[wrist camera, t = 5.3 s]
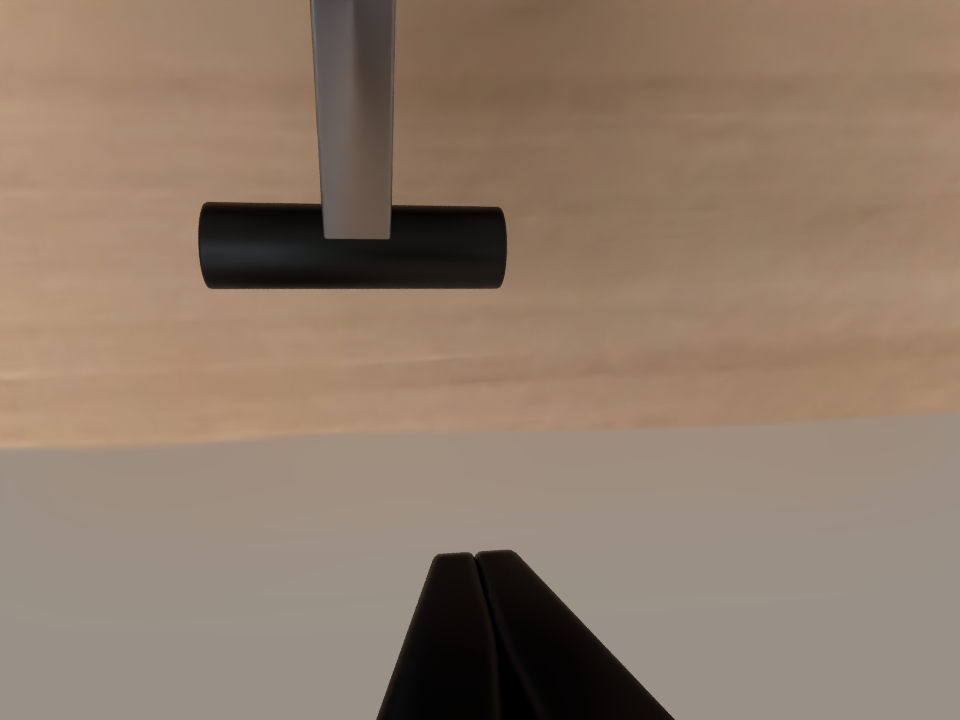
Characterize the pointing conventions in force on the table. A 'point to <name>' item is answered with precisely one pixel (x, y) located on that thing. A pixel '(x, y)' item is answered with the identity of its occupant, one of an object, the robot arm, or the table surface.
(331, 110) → the lever
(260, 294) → the table surface
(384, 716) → the robot arm
